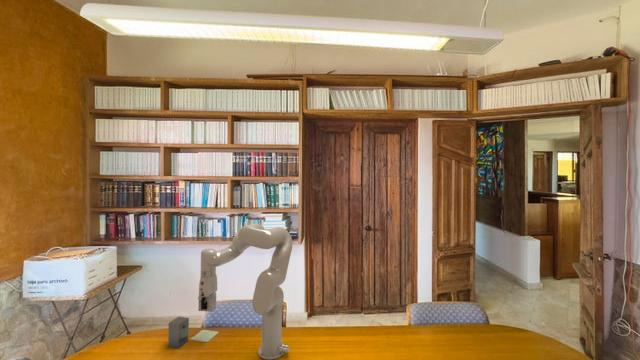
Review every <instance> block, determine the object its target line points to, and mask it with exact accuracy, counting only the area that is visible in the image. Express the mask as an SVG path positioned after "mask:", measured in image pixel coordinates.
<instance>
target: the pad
mask: <svg viewBox="0 0 640 360" xmlns="http://www.w3.org/2000/svg"><path fill="white" fill-rule="evenodd" d="M219 333H220V332H219V331H215V330H214V331H213V330H209V329H208V330H207V329H202V330H200V331H198V333H196V334H195V335H194V336H192V337H191V338H189V339H190V340H191V341H196V342H201V343H209V342H210V341H211V340H212V339H213V338H214V337H216V336H217V335H218V334H219Z"/></svg>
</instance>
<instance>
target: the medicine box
mask: <svg viewBox="0 0 640 360" xmlns="http://www.w3.org/2000/svg"><path fill="white" fill-rule="evenodd" d="M203 298H204V299H205V297H203ZM206 302H207V310H203V309H201V302H200V300H199V299H198V308H197V309H198V312H211V313H213V312H214V311H215V310H216V309H217V292H215V293H213V294H212V295H210V296H208V297H207V301H206Z"/></svg>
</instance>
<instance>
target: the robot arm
mask: <svg viewBox="0 0 640 360" xmlns="http://www.w3.org/2000/svg"><path fill="white" fill-rule="evenodd" d="M250 247H255V248H258V249H262V250H269V249H273V248H275V249H274V250H273V253H272V257H271V261H270V265H269V267H268V268H267V269H264V270H263V271H262V272H260V274H259V276H257V279H256V281H255V282H256V283H255V288H254V291H253V296H252V301H251V303H252V304H251V305H252V308H253V310H254V312H255V313H256V314H257V315H260V316H261V346H260V347H259V348H258V351H257V354H258V356H259V357H260V358H261V359H264V360H277V359H279V358H280V357H282V356H283V355H284V354H286V353H287V354H289V352H290V347H289V345H285V344H284V340H282V334H283V333H282V332H283V331H282V325H283V324H282V322H283V321H282V319H283V305H284V297H285V295H284V291H283V289H282V287H280V286H282V284H283V283H284V282H285V281H286V278H287V274H288V273H287V272H288V267H289V264H290V259H291V256H292V255H291V254H292V251H293V238H292V236H291V234H290V232H289V231H288V230H287V229H286V228H284V227H273V228H269V229H266V230H265V228H264V226H263V225H261V224H260V223H250V224H247V225H243V226H241V227H240V228H239V230H238V232H237V234H236V235H235V236H234V237H233V238H232V243H231V244H230V245H229V246H228V247H225V248H221V249H220V250H216V249H215V248H205V249H203V250H201V252H200V278H199V285H198V297H197V299H198V301H199V300H200V302H201V309H203V310H207V302H206V301H207V297H208V296H210V295H212V294H213V293H217V292H218V277H217V273H216V272H217V267H220V266H223V265H224V264H227V263H230V262H232V261H234V260H235V259H237V258H238V257H240V256H241V255H242V254H243V253H244V252H245V250H247V249H249V248H250ZM203 297H205V299H204V298H203Z"/></svg>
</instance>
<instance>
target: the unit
mask: <svg viewBox="0 0 640 360" xmlns="http://www.w3.org/2000/svg"><path fill="white" fill-rule="evenodd" d="M189 318H190V317H184V316H177V317H176V318H174V319H172V320H170V321H169V322H168V335H167V336H168V337H167V338H168V341H167V342H168V344H167V345H168V348H171V349H177V350H179V349H180V348H182V347H183V346H184V345H186V344H187V343H189V332H190V331H189V328H190V327H189V326H190V325H189V322H190V320H189Z"/></svg>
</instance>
